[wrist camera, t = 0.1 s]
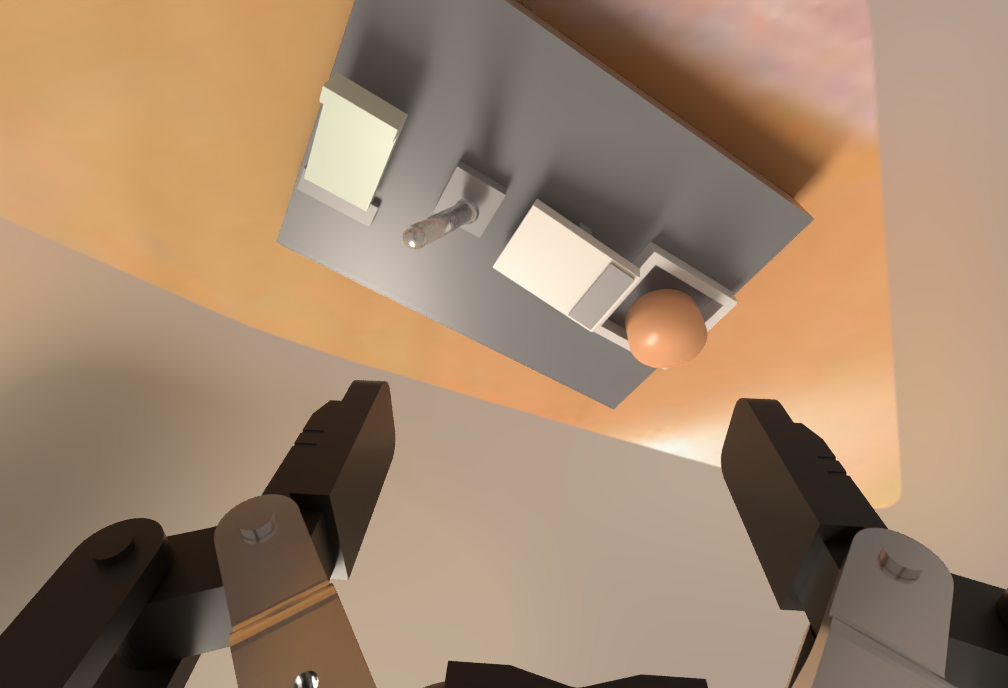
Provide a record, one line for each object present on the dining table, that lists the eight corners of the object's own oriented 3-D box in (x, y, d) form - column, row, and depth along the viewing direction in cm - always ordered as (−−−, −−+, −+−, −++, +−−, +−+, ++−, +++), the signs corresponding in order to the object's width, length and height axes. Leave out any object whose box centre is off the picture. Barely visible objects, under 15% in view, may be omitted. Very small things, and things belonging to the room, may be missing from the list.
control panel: (399, -83, 24) (374, -87, 21) (793, 198, 31) (823, 229, 27) (294, 221, 34) (266, 252, 31) (609, 382, 41) (615, 422, 37)
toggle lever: (467, 190, 28) (402, 218, 22) (488, 205, 28) (428, 237, 22) (456, 211, 28) (390, 242, 23) (475, 226, 28) (414, 262, 23)
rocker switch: (536, 198, 28) (532, 206, 27) (639, 268, 29) (640, 279, 28) (497, 259, 30) (491, 268, 29) (593, 322, 31) (591, 334, 30)
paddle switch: (337, 71, 24) (323, 85, 23) (407, 114, 25) (397, 130, 24) (309, 170, 28) (297, 186, 27) (371, 203, 29) (361, 220, 28)
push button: (657, 276, 29) (663, 295, 28) (715, 310, 31) (724, 330, 29) (610, 328, 32) (613, 348, 30) (665, 358, 33) (671, 378, 31)
